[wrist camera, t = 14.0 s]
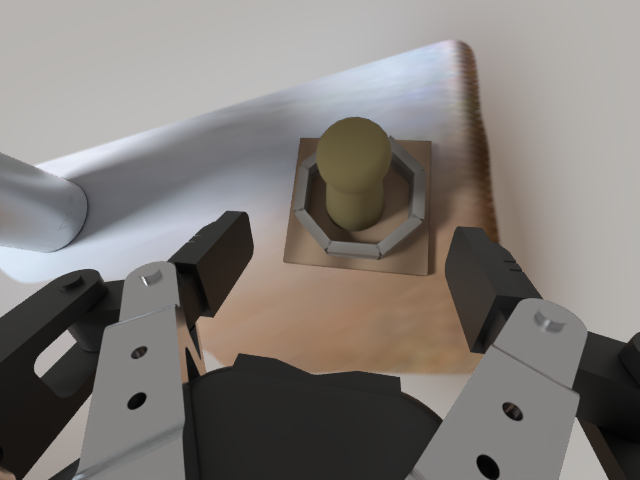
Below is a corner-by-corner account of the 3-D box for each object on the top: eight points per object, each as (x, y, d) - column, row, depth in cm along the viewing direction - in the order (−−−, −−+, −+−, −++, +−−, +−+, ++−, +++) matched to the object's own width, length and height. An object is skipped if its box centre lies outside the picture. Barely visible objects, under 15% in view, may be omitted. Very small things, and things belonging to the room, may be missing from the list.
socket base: (285, 262, 29) (276, 257, 25) (302, 143, 31) (295, 123, 28) (424, 276, 26) (434, 272, 23) (429, 146, 29) (438, 126, 26)
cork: (355, 165, 29) (353, 85, 18) (397, 202, 27) (423, 138, 17) (313, 203, 28) (287, 145, 18) (354, 243, 27) (352, 205, 16)
